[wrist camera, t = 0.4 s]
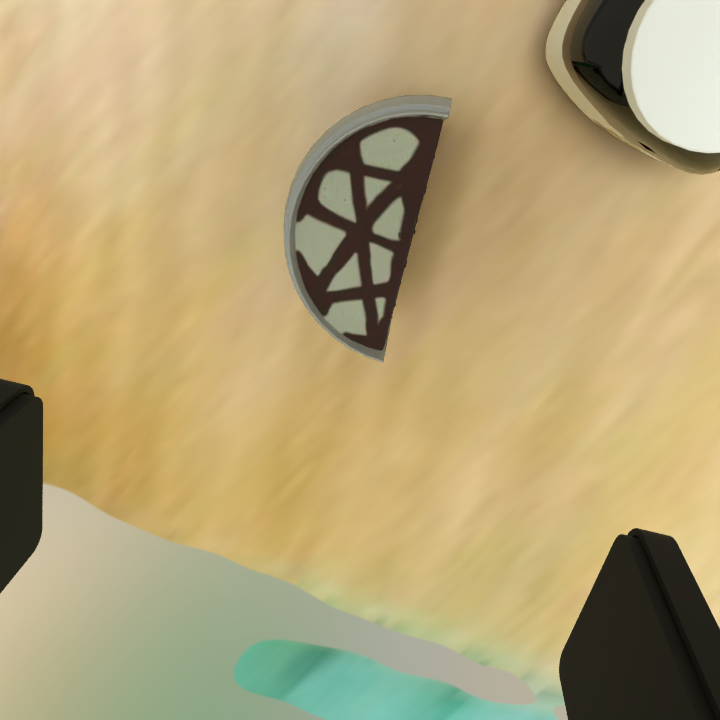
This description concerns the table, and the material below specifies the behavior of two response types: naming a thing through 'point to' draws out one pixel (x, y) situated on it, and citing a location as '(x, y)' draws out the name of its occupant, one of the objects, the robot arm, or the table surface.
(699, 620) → the robot arm
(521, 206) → the table surface
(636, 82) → the spread jar
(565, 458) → the table surface
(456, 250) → the table surface
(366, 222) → the food container
